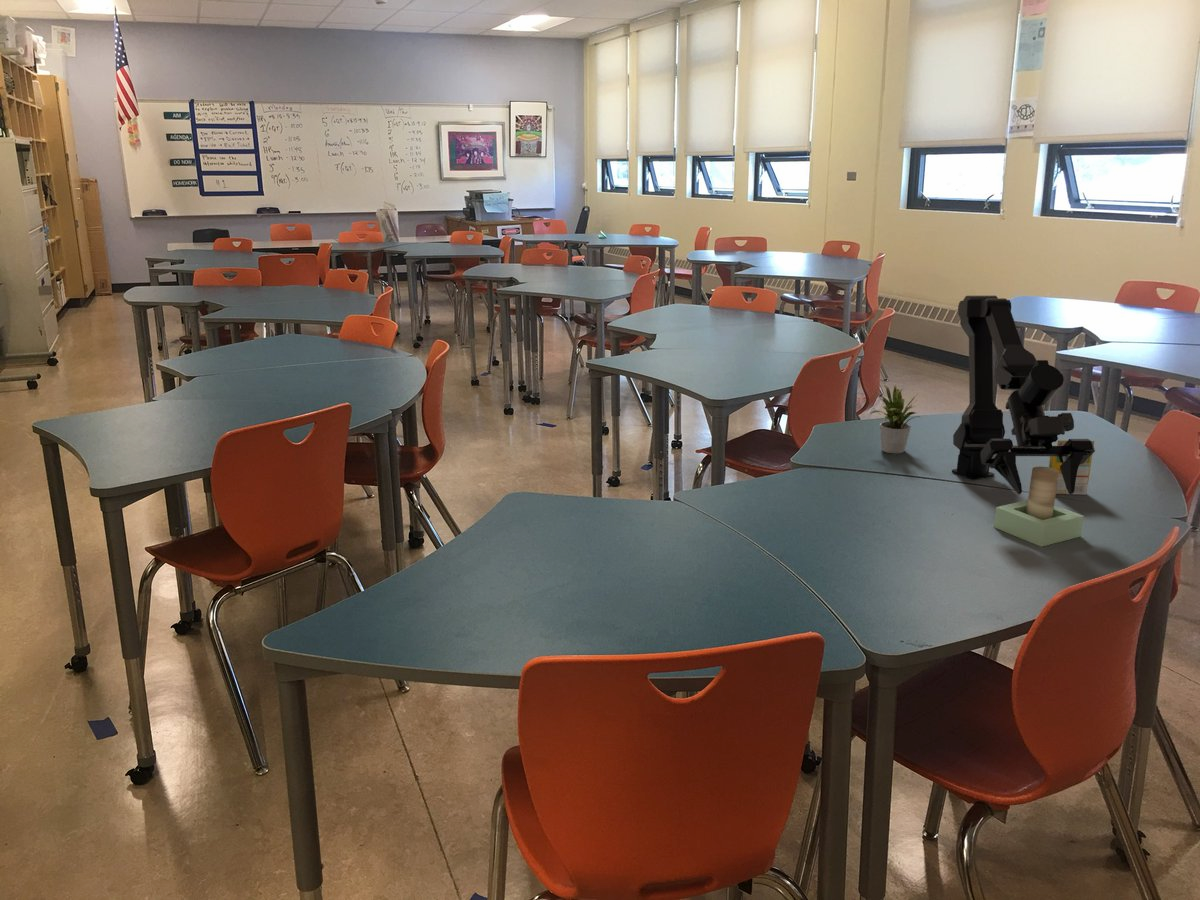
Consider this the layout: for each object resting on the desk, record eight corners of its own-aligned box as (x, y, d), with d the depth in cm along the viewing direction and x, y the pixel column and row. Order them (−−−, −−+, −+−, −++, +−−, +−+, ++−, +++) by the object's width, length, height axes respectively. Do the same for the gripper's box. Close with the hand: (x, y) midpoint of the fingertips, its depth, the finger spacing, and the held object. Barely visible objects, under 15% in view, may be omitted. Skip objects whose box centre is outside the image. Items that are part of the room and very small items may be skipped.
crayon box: (1081, 490, 189) (1089, 437, 185) (1086, 495, 186) (1095, 441, 182) (1044, 489, 189) (1052, 436, 186) (1049, 494, 187) (1057, 440, 183)
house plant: (846, 443, 222) (851, 378, 217) (894, 438, 226) (900, 374, 221) (880, 460, 209) (886, 391, 204) (931, 454, 213) (938, 387, 208)
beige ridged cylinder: (1025, 525, 170) (1034, 465, 167) (1051, 530, 168) (1060, 469, 164) (1022, 533, 167) (1030, 471, 163) (1048, 538, 164) (1057, 475, 161)
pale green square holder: (1032, 517, 174) (1035, 498, 173) (1080, 536, 165) (1084, 516, 164) (993, 527, 170) (996, 507, 168) (1041, 546, 161) (1044, 525, 160)
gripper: (993, 396, 164) (1010, 473, 157) (1098, 396, 163) (1119, 474, 156) (973, 426, 174) (987, 500, 167) (1071, 426, 173) (1090, 500, 166)
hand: (1045, 493), depth 164 cm, fingers open, 9 cm apart
